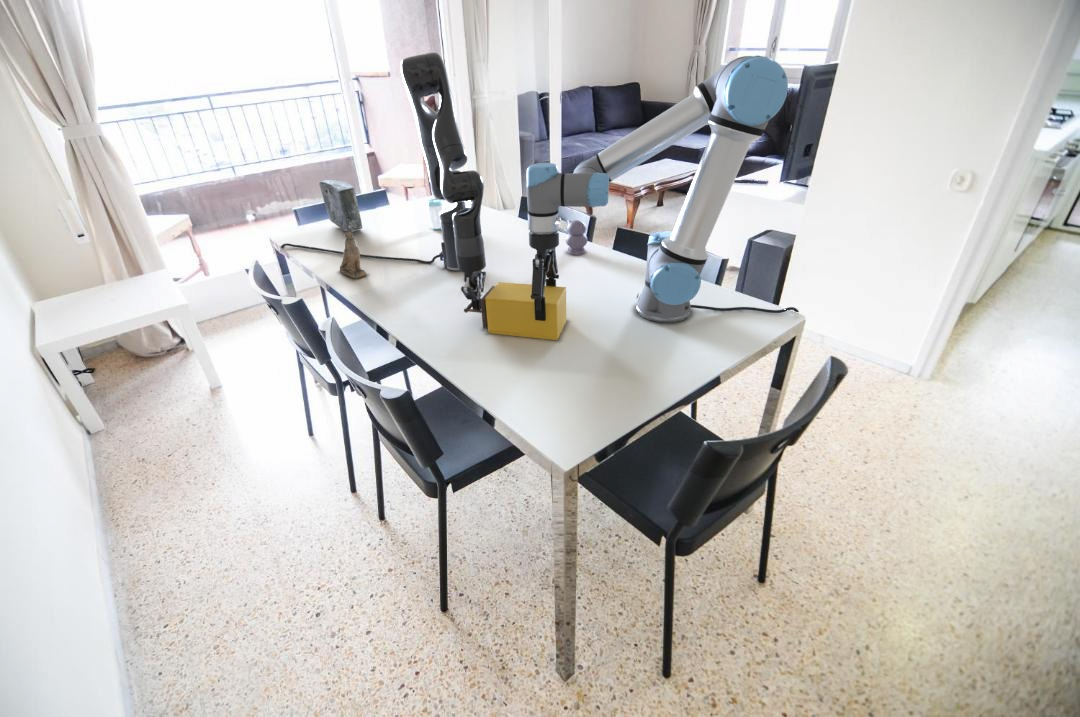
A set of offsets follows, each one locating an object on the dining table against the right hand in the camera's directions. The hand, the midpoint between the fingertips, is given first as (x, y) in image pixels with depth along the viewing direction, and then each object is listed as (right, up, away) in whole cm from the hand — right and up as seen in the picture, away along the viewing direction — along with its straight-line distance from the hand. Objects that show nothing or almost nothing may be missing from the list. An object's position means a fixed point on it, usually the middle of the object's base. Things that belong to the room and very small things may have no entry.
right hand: (546, 310), depth 134 cm
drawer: (-10, -3, +5) cm, 12 cm away
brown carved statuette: (-69, +18, +44) cm, 84 cm away
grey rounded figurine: (+12, +28, +55) cm, 63 cm away
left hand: (-19, +1, +6) cm, 20 cm away
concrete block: (-89, +45, +91) cm, 135 cm away
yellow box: (-5, -4, +4) cm, 8 cm away
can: (-47, +46, +89) cm, 110 cm away
